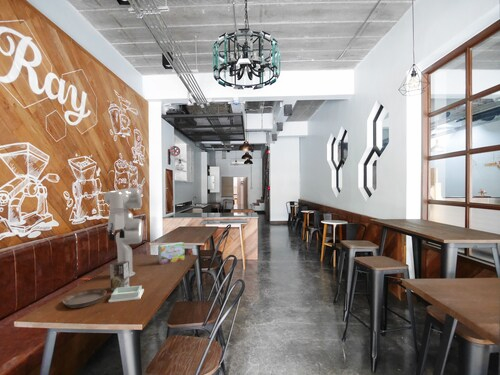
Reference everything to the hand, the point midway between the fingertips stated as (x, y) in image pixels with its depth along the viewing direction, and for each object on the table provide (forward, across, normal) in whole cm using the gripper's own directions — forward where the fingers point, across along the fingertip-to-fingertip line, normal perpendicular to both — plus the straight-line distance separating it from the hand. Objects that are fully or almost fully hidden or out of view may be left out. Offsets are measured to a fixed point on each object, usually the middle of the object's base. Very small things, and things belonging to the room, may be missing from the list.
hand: (117, 239), depth 167 cm
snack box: (+29, -62, +6) cm, 69 cm away
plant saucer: (+32, +18, -7) cm, 37 cm away
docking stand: (+31, +10, +12) cm, 35 cm away
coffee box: (+31, -1, +1) cm, 31 cm away
